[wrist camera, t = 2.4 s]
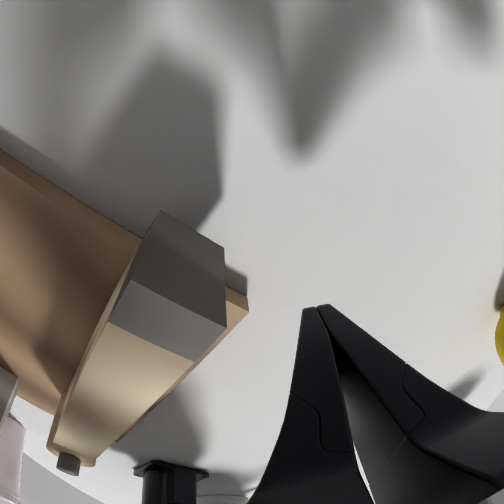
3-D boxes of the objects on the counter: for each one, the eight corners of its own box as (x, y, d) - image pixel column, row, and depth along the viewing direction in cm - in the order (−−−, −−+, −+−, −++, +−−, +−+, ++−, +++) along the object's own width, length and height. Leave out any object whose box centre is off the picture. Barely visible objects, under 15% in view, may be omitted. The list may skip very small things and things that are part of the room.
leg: (98, 422, 17) (89, 470, 13) (58, 403, 16) (44, 451, 12) (231, 252, 11) (237, 332, 7) (153, 205, 10) (119, 272, 6)
